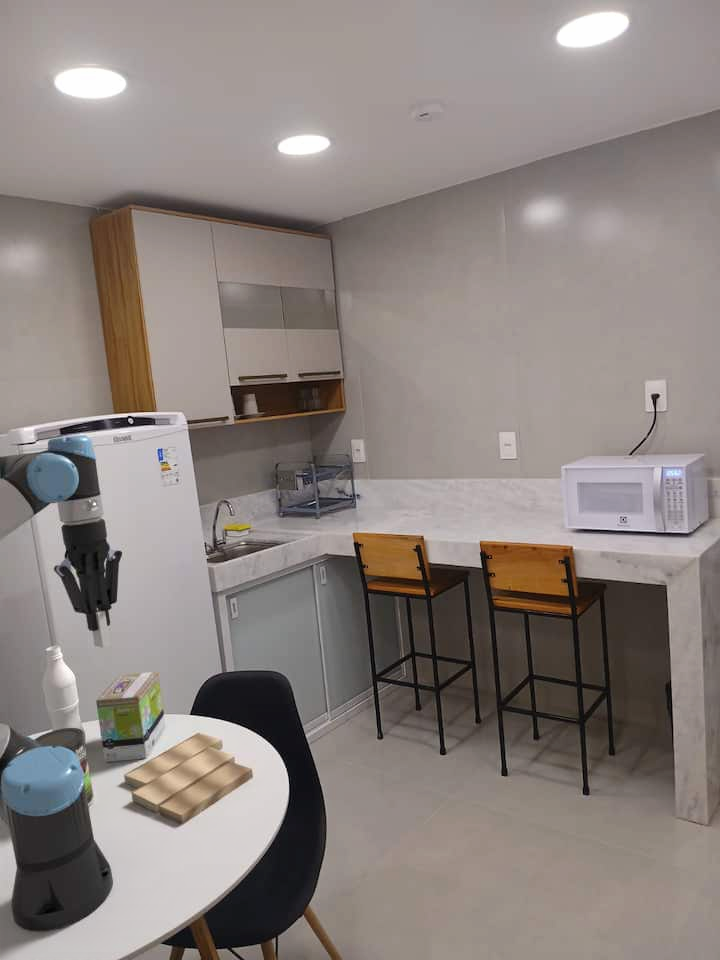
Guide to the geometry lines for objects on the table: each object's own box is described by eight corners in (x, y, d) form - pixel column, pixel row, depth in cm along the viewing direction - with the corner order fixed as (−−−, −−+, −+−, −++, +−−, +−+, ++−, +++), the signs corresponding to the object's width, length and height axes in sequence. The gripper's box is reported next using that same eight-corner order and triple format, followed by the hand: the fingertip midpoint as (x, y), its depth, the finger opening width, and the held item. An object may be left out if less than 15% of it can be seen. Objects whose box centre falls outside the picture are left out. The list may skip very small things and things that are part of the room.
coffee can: (104, 791, 152) (93, 726, 150) (75, 821, 142) (63, 752, 140) (60, 791, 154) (48, 727, 152) (28, 820, 144) (15, 752, 142)
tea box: (148, 759, 164) (138, 695, 162) (104, 763, 164) (93, 700, 162) (167, 727, 179) (158, 669, 177) (126, 732, 179) (116, 673, 177)
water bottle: (47, 757, 170) (28, 654, 167) (68, 742, 177) (50, 642, 174) (73, 758, 168) (55, 653, 165) (93, 743, 175) (76, 642, 171)
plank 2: (157, 813, 141) (156, 804, 141) (132, 800, 146) (131, 791, 146) (235, 763, 156) (234, 755, 156) (209, 753, 161) (208, 746, 161)
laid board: (183, 824, 136) (181, 814, 136) (159, 814, 141) (158, 804, 140) (253, 777, 150) (251, 768, 150) (229, 769, 155) (228, 760, 154)
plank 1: (148, 792, 149) (147, 783, 149) (125, 783, 154) (123, 774, 154) (222, 747, 165) (221, 739, 164) (199, 740, 170) (198, 732, 169)
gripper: (61, 528, 127) (82, 660, 130) (125, 513, 137) (143, 636, 140) (38, 527, 131) (59, 655, 134) (101, 513, 142) (120, 631, 144)
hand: (102, 645), depth 137 cm, fingers closed
